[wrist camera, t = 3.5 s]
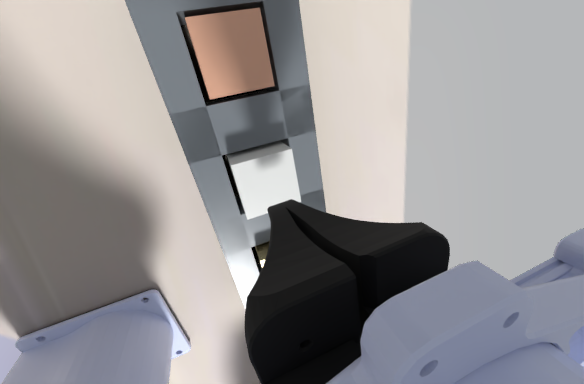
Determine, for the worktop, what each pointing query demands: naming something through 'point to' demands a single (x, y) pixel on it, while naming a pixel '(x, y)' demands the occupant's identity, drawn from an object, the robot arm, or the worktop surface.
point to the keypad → (234, 116)
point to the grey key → (264, 177)
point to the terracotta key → (231, 51)
